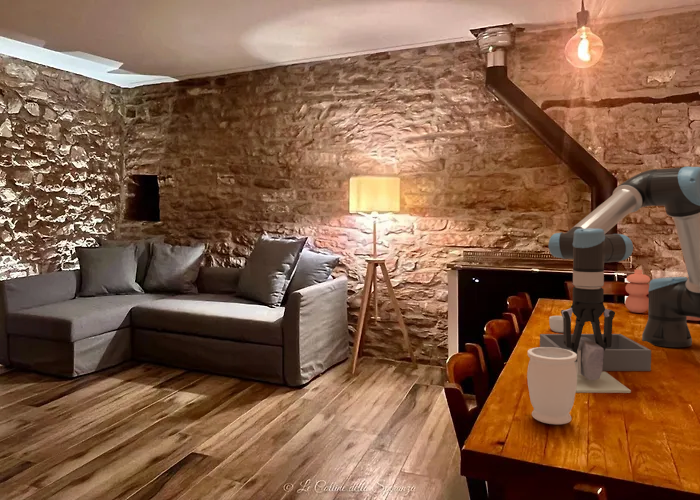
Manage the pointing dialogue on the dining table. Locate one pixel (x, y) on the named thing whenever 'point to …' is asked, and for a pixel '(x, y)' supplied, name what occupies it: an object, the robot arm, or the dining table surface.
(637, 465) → the dining table surface
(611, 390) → the board
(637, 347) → the access frame
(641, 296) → the ceramic vessels
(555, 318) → the teacup
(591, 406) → the dining table surface
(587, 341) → the stone block
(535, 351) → the jar
